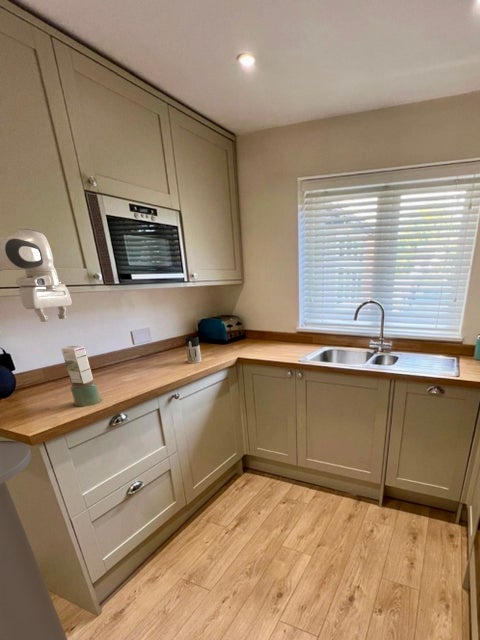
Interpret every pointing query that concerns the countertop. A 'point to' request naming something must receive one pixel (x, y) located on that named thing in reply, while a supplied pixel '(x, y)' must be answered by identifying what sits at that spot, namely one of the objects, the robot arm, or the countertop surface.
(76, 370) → the syrup box
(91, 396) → the green lidded jar
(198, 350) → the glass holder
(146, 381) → the countertop surface
